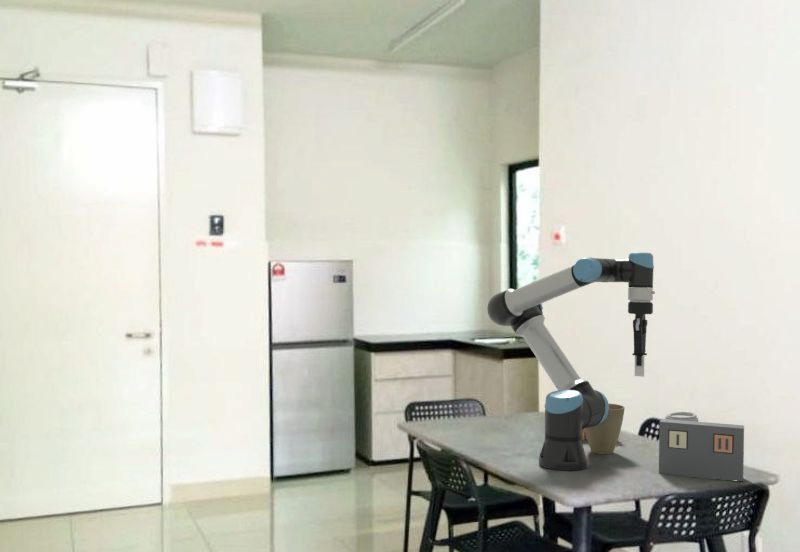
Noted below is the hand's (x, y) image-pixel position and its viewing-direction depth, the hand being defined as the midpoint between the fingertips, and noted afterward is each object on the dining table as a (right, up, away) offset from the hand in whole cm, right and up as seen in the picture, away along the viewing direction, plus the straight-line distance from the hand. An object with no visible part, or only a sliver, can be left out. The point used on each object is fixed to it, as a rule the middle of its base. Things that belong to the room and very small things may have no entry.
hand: (639, 376), depth 261 cm
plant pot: (-6, -30, +25) cm, 39 cm away
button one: (+10, -21, -7) cm, 24 cm away
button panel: (+17, -30, -8) cm, 35 cm away
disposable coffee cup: (+19, -30, +18) cm, 40 cm away
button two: (+22, -21, -12) cm, 33 cm away
